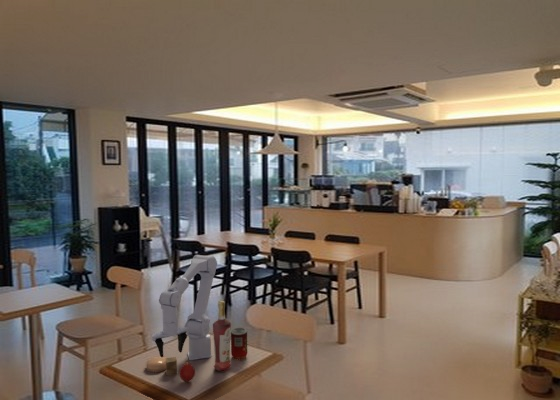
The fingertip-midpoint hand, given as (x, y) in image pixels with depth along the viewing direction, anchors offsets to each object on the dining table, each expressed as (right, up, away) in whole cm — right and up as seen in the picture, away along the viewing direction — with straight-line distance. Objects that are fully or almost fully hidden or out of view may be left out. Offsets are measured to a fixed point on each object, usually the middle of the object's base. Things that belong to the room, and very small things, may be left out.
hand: (171, 353), depth 163 cm
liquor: (+20, -8, +3) cm, 22 cm away
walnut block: (0, -8, +1) cm, 8 cm away
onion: (+8, -8, -7) cm, 14 cm away
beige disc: (-7, -8, +5) cm, 12 cm away
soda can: (+26, -7, +14) cm, 30 cm away
